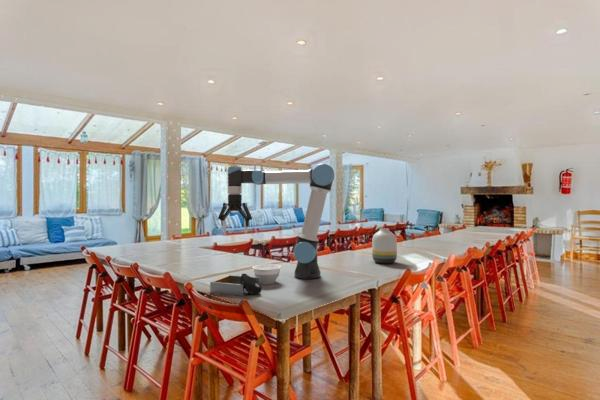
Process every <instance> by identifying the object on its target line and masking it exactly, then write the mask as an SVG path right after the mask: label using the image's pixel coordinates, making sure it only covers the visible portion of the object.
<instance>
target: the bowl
mask: <svg viewBox="0 0 600 400" xmlns="http://www.w3.org/2000/svg"><path fill="white" fill-rule="evenodd" d="M251 268H252V269H253V273H254V277H260V285H269V284H270V285H271V284H274V283H276V281H277V279H278V277H279V275H280V272H281V270H280V269H282V265H280V264H276V263H275V264H272V263H264V264H256V265H253V266H252V267H251Z"/></svg>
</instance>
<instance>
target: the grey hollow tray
mask: <svg viewBox="0 0 600 400" xmlns="http://www.w3.org/2000/svg"><path fill="white" fill-rule="evenodd" d="M252 277H253V278H255V279H256V281H257V282H258V283H259V285H260V286H261V283H260V277H255V276H252ZM240 279H241V275H236V274H235V275H232V274H227V275H225V276H222V277H219V278H218V279H215V280H213V281H210V282H209V286H210V287H209V290H210V291H209V292H210V293H213V294H215V293H217V294H221V295H222V294H223V295H230V296H231V295H232V296H241V297H244V296H246V295H248V294H250V293H249V292H247V291H246V290H245V288H244V285H243V284H241V282H240Z"/></svg>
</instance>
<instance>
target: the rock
mask: <svg viewBox="0 0 600 400" xmlns="http://www.w3.org/2000/svg"><path fill="white" fill-rule="evenodd" d="M240 276H241V279H240V282H241V284H243V285H244V288H245V290H246V291H247V292H249V293H248V294H252V295H259V294H261V292H262V286H261V284H260V285H259V283H258V282H257V281H256V279H255V278H253V277H254V276H250V275H248V274H247V273H241V275H240Z"/></svg>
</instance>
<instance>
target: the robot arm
mask: <svg viewBox="0 0 600 400" xmlns="http://www.w3.org/2000/svg"><path fill="white" fill-rule="evenodd" d="M333 168H334V167H332V166H331V165H329V164H328V163H319V164H317V165H316V166H314V167H313V168H309V169H307V170H274V171H273V170H272V171H270V170H269V171H263V170H262V169H242V166H239V165H238V166H237V165H230V166H228V168H227V193H228V195H227V202H223V203H222V208H221V211H220V212H219V215H218V218H217V220H219V221H220V226H221V227H222V233H227V220H226V219H227V218H228V216H229V215H230V213H231V212H238V213H239V214H240V215H241V217H242V218H243V219H244V221H243V233H244V234H247V233H248V231H249V229H248V227H249V226H250V221H251V220H253V216H252V213H251V212H250V209H249V208H248V203H247V202H242V200H243V199H242V198H243V197H242V196H243V195H242V187H243V186H242V184H254V185H258V186H259V185H284V184H285V185H289V184H290V185H291V184H293V185H295V184H297V185H298V184H300V185H301V184H309V189H310V195H309V198H308V199H309V200H308V203H307V207H306V212H305V214H304V215H305V216H304V220H303V224H302V229H301V233H299V234H298V235H297V238H296V241H295V245H294V247H293V250H292V251H293V257H294V258H295V260H296V266H295V270H294V277H295V278H296V279H306V280H307V279H308V280H309V279H318V278H320V277H321V270H320V266H319V264H318V244H319V242H320V240H319V238H318V233H319V228H320V224H321V221H322V216H323V212H324V208H325V203H326V200H327V196H328V194H329V193H330V192H331V190H332V187H333V182H334V181H335V180H334V179H335V171H334V169H333ZM227 207H228V208H227Z"/></svg>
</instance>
